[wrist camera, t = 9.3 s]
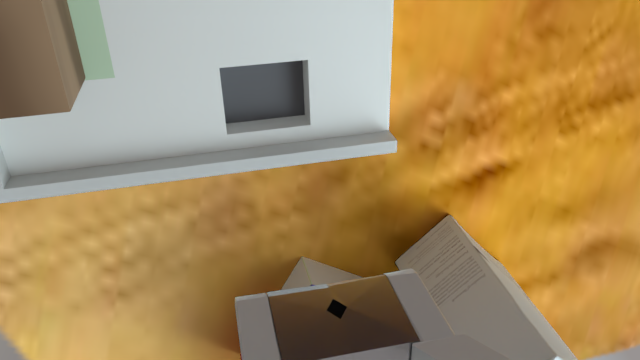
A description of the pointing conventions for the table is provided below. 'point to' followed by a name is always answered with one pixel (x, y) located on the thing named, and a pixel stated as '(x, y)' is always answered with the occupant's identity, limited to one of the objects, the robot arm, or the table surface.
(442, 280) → the skincare box
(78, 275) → the table surface
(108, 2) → the platform
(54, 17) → the walnut block
